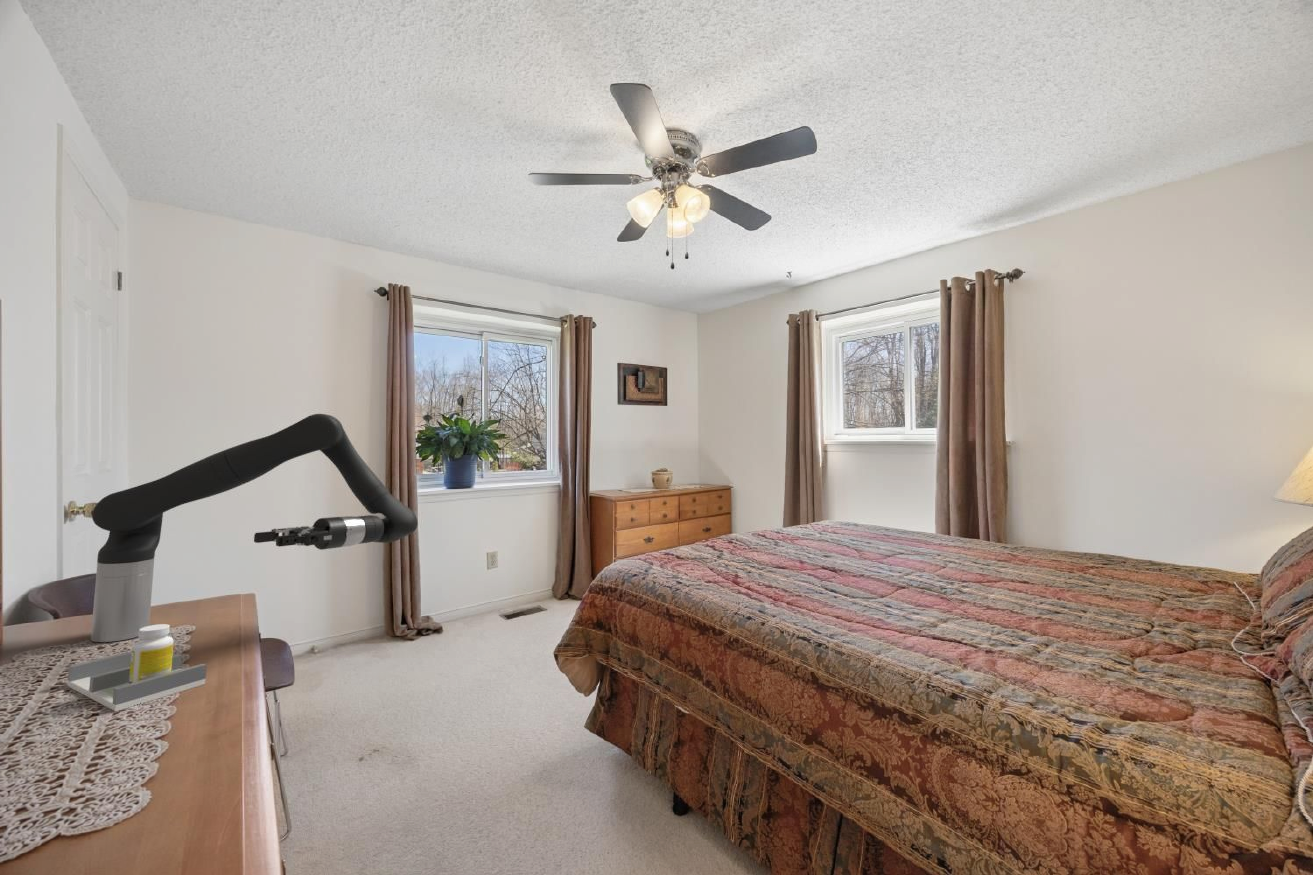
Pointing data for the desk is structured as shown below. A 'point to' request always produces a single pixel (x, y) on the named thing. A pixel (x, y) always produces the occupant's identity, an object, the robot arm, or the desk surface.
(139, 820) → the desk surface
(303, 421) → the robot arm
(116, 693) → the divided tray
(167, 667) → the supplement bottle
